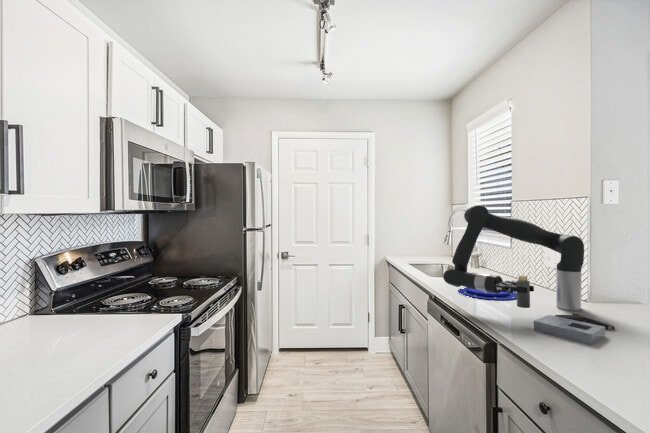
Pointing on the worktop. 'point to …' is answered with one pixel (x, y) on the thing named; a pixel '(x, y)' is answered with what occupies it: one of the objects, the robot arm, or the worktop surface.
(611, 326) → the handgun
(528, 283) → the plug
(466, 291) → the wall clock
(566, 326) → the housing
